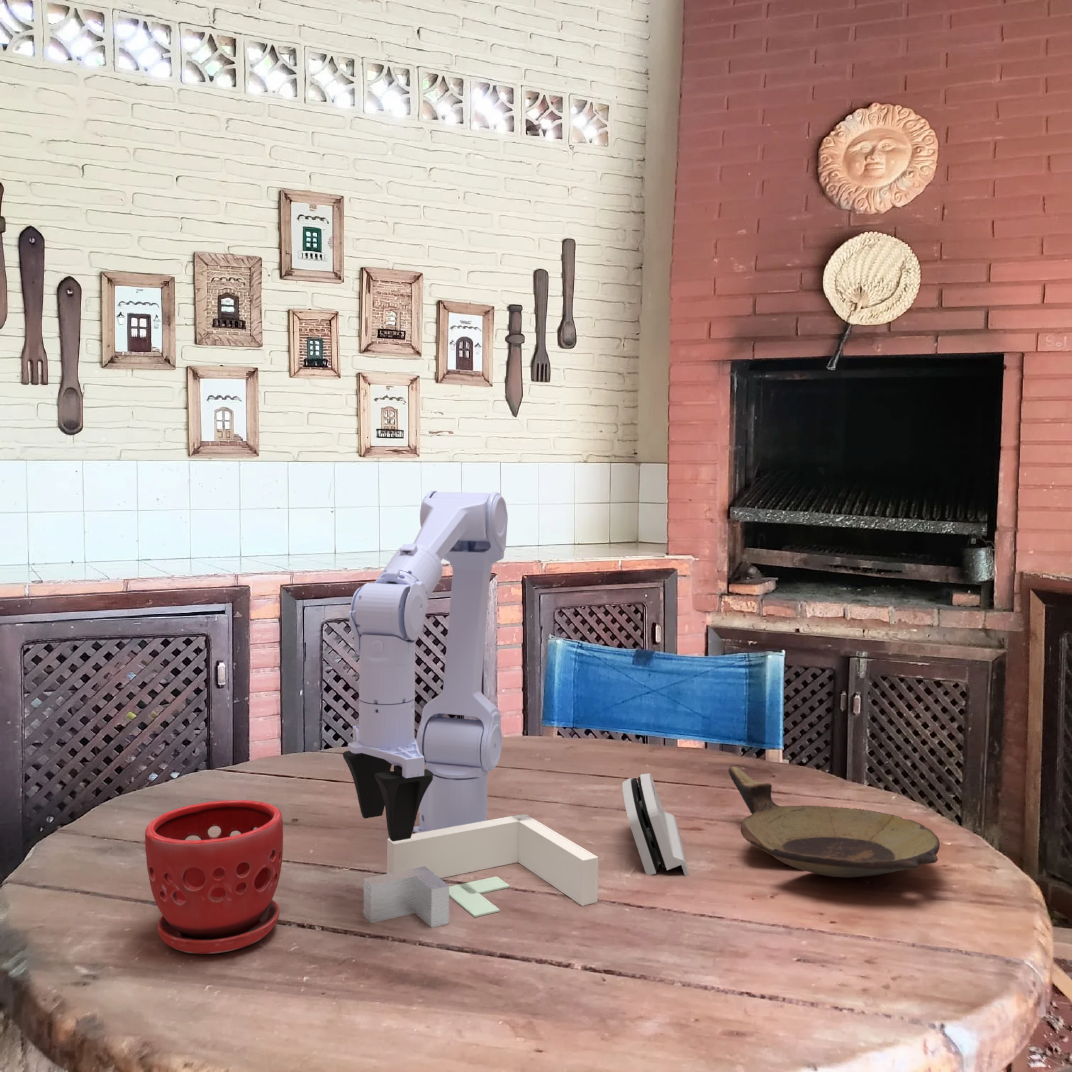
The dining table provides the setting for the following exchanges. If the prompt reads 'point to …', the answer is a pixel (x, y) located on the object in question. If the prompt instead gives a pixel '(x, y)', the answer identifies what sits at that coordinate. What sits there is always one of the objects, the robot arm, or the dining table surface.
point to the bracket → (407, 896)
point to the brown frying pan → (832, 835)
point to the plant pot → (215, 874)
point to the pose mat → (477, 895)
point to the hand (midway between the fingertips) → (385, 827)
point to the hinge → (652, 826)
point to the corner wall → (501, 853)
